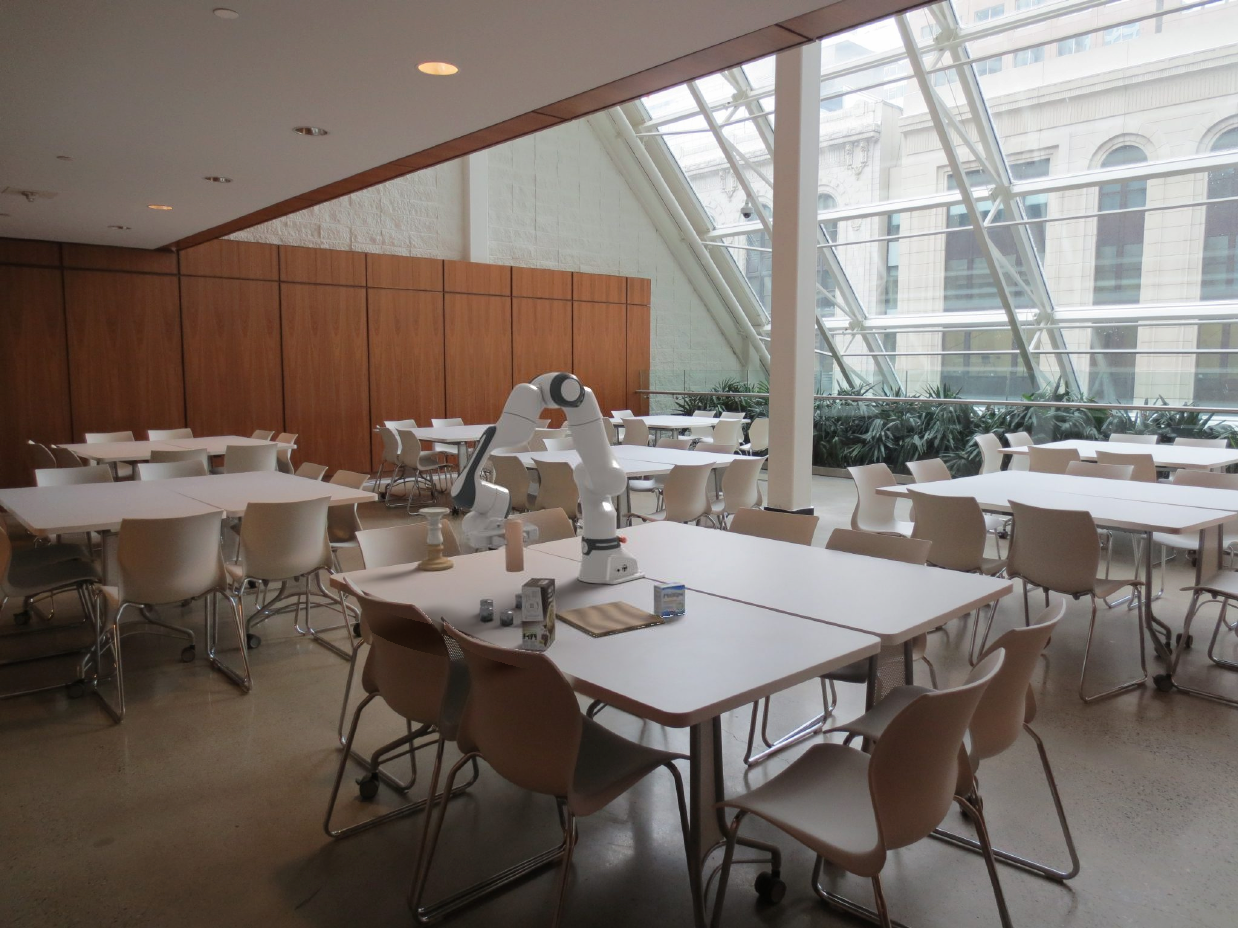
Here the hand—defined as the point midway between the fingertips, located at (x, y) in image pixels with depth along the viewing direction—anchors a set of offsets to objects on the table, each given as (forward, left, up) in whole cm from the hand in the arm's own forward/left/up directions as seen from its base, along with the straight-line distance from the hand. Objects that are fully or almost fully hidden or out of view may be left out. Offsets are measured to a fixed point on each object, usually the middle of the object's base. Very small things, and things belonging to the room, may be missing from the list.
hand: (515, 540), depth 236 cm
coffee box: (+6, +25, -22) cm, 34 cm away
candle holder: (-3, -68, -22) cm, 71 cm away
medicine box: (-37, +22, -22) cm, 48 cm away
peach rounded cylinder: (0, -1, -8) cm, 8 cm away
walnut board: (-20, +17, -21) cm, 34 cm away
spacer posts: (0, -1, -21) cm, 21 cm away
